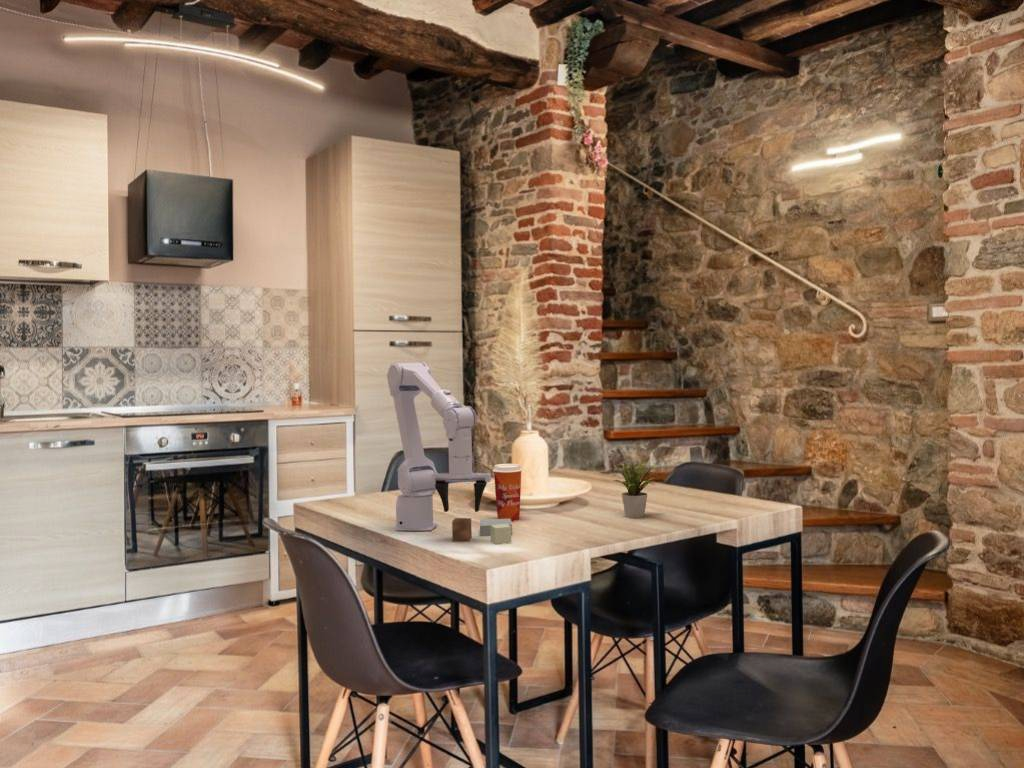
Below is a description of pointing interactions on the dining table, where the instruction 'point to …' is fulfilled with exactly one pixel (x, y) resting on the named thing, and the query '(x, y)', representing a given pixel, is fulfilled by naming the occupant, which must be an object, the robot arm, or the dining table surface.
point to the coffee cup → (508, 490)
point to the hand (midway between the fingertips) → (461, 511)
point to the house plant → (634, 489)
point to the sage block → (500, 533)
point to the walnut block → (461, 530)
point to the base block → (486, 524)
